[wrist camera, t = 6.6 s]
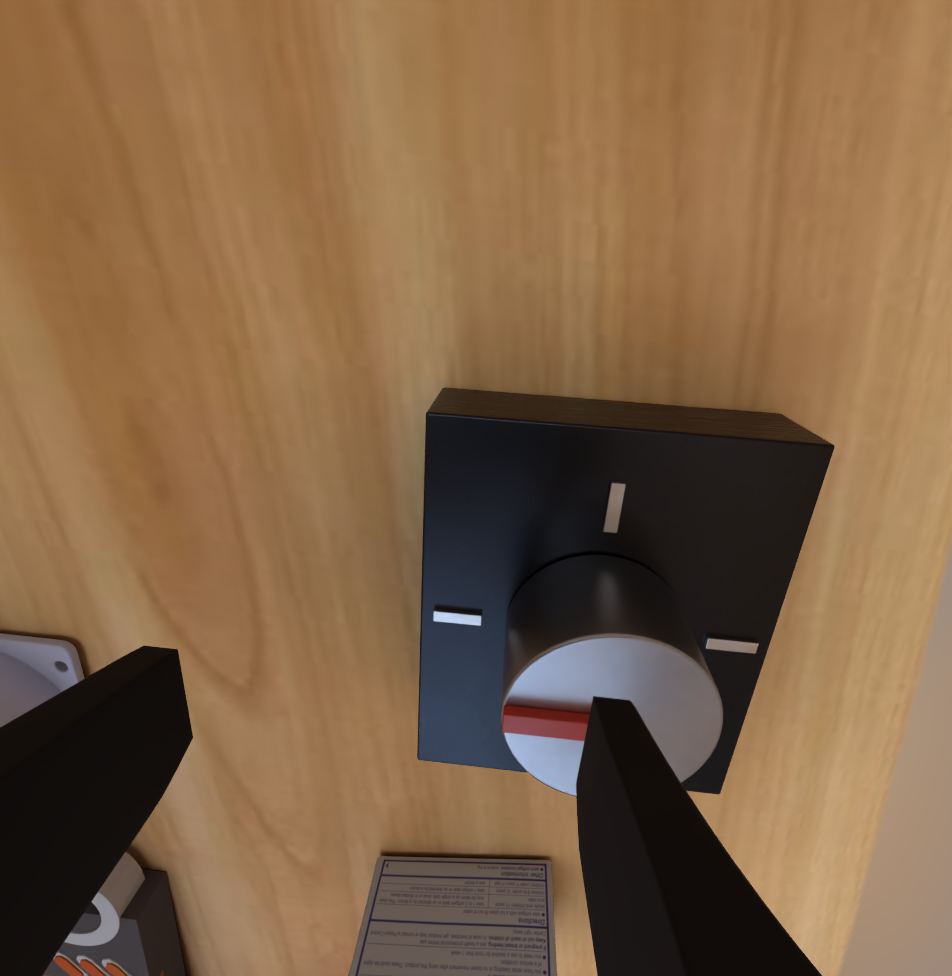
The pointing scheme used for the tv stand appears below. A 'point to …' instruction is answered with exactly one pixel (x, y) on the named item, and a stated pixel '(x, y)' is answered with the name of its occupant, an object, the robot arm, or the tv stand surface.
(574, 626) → the programme dial
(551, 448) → the dial panel
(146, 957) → the electronic device
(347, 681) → the tv stand surface
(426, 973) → the medicine box
